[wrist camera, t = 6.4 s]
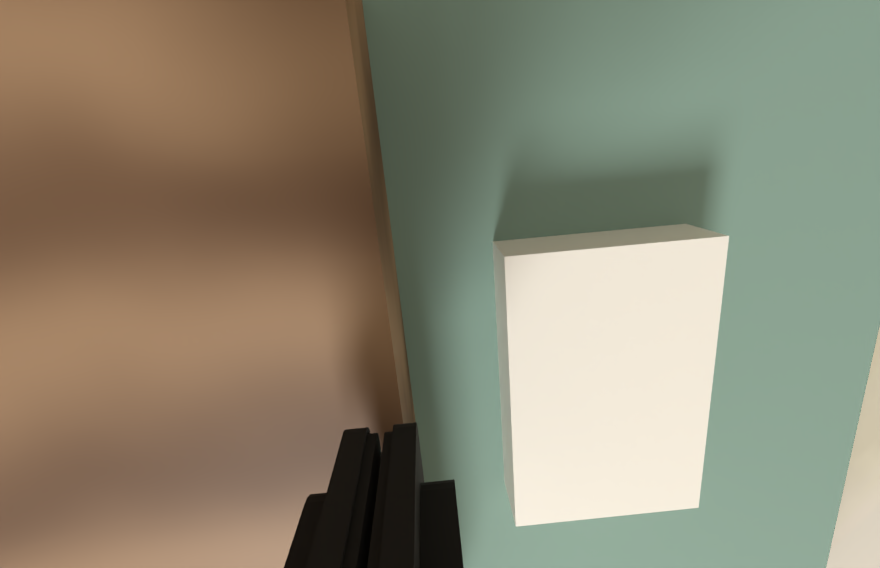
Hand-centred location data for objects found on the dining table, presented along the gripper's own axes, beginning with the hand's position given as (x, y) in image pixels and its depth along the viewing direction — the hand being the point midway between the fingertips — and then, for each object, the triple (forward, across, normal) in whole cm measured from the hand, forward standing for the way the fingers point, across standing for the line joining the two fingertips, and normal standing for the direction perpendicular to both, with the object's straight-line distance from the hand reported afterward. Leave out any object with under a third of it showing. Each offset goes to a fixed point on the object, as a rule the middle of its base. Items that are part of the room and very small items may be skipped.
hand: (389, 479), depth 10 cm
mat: (+5, -8, 0) cm, 10 cm away
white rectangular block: (+4, -6, 0) cm, 7 cm away
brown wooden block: (+5, +7, 0) cm, 8 cm away
